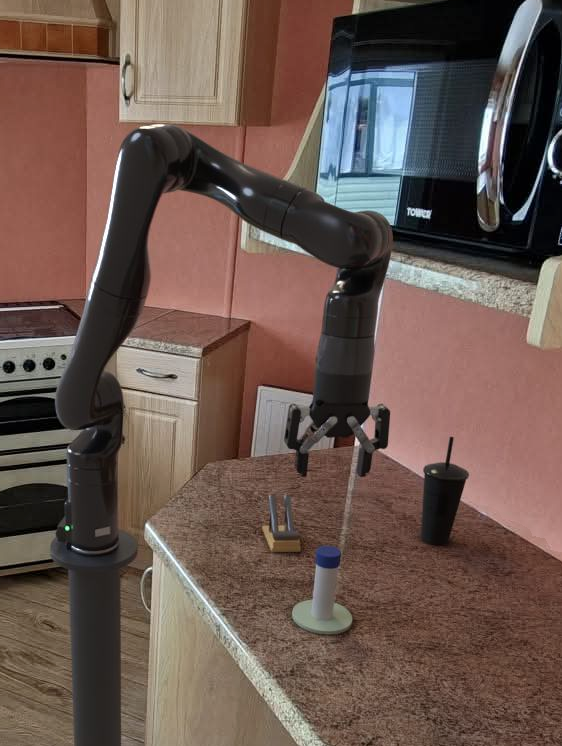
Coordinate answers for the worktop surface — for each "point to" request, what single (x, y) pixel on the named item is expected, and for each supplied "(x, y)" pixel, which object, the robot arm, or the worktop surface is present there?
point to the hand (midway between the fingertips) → (331, 475)
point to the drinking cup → (441, 498)
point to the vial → (325, 581)
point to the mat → (332, 626)
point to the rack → (281, 529)
